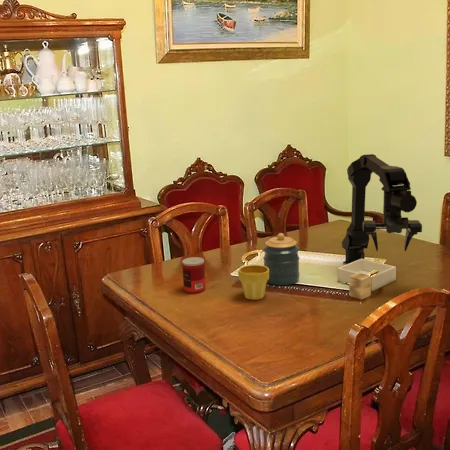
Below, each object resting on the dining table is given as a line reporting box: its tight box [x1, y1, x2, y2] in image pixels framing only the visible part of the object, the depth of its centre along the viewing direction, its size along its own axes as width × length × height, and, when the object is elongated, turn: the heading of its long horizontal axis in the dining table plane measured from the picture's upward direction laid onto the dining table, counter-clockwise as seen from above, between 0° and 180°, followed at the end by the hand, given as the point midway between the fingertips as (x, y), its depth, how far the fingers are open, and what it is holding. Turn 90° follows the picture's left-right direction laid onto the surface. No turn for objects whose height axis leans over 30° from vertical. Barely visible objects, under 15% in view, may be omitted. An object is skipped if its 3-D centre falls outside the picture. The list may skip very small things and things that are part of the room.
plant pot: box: [237, 264, 269, 301], centre depth 198 cm, size 10×10×10 cm
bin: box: [336, 258, 397, 292], centre depth 209 cm, size 15×15×5 cm
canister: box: [262, 232, 300, 286], centre depth 212 cm, size 13×13×18 cm
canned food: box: [181, 256, 206, 295], centre depth 206 cm, size 8×8×11 cm
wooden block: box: [348, 273, 372, 301], centre depth 195 cm, size 5×5×7 cm
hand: (390, 250), depth 198 cm, fingers open, 9 cm apart
